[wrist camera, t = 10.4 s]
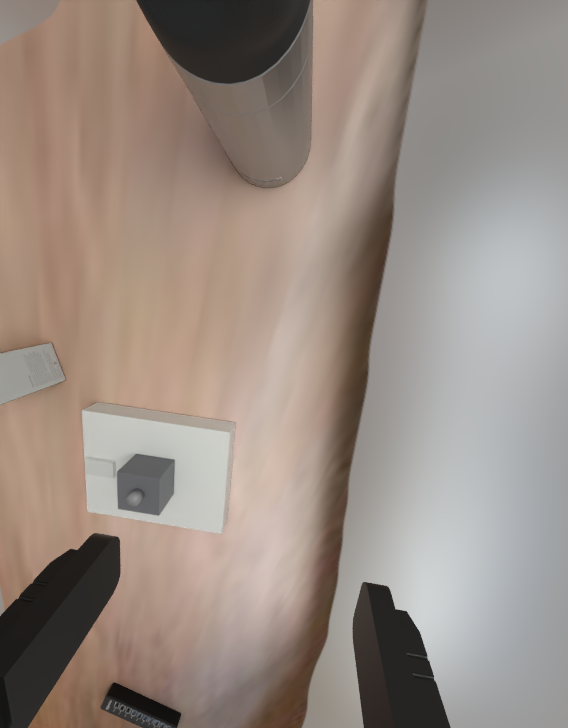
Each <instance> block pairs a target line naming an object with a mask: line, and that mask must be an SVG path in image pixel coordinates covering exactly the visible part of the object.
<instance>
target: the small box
mask: <svg viewBox="0 0 568 728" xmlns="http://www.w3.org/2000/svg"><path fill="white" fill-rule="evenodd" d="M65 380H66V379H65V376H64V374H63V371H62V368H61V366H60V363H59V361H58V358H57V356H56V353H55V351H54V348H53V345H52V343H47V344H42V345H37V346H32V347H27V348H21V349H16V350H12V351H6V352H1V353H0V405H1V404H4V403H6V402H9V401H11V400H14V399H17V398H20V397H23V396H25V395H28V394H31V393H33V392H36V391H39V390H41V389H44V388H47V387H49V386H52V385H55V384H57V383H60V382H62V381H65Z"/></svg>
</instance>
